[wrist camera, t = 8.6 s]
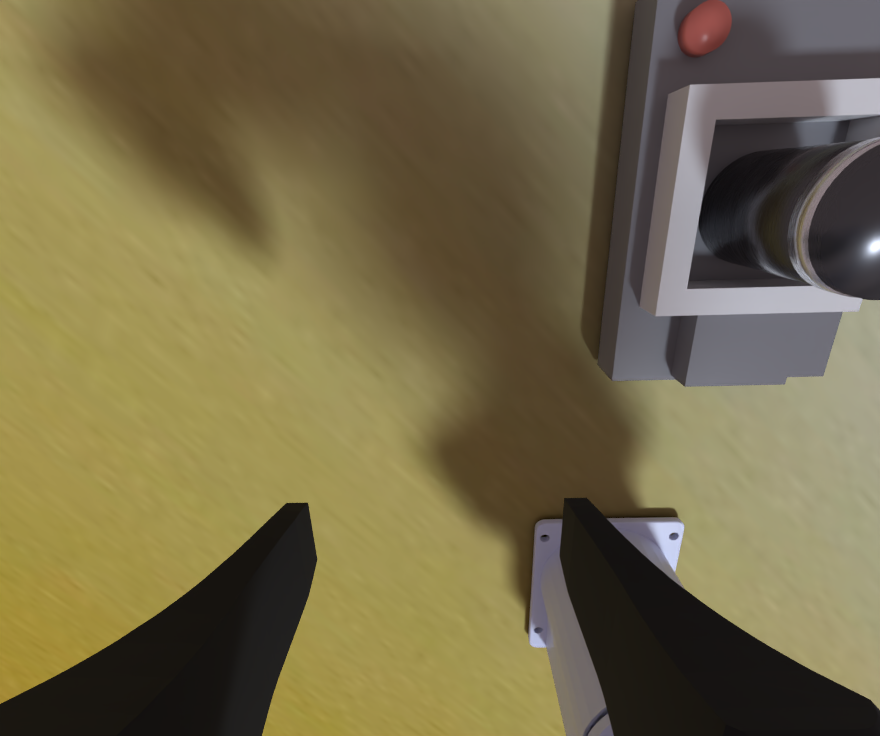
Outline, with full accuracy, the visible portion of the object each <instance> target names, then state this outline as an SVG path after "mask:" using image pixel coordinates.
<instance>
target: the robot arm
mask: <svg viewBox="0 0 880 736" xmlns="http://www.w3.org/2000/svg"><path fill="white" fill-rule="evenodd" d="M674 532H675V533H674ZM683 532H684V524H683V523H682V521H681V520H680V519H679V518H676V517H654V518H606V517H605V516H604V515H603V514H602V513H601V512H600V511H599V510H598V509H597V508H596V507H595V506H594V505H593V504H592V503H591V502H590V501H589V500H588V499H587V498H564V509H563V519H544V520H540V521H538V522H537V523H536V525H535V534H534V551H533V568H532V584H531V601H530V617H529V634H528V638H529V643H530V645H531V646H533V647H547V652H548V656H549V661H550V665H551V670H552V674H553V679H554V683H555V688H556V692H557V697H558V701H559V706H560V710H561V715H562V719H563V723H564V728H565V732H566V736H880V710H879V709H878V708H877V707H876V706H875V705H874V704H873V702H872V701H871V700H870V699H868V698H866V697H864V696H862V695H860V694H858V693H856V692H854V691H852V690H850V689H848V688H846V687H844V686H842V685H840V684H838V683H836V682H834V681H832V680H830V679H828V678H826V677H824V676H822V675H820V674H818V673H816V672H814V671H812V670H810V669H808V668H806V667H805V666H803V665H801V664H799V663H797V662H796V661H794V660H792V659H790V658H789V657H787V656H785V655H783V654H782V653H780V652H778V651H776V650H775V649H773V648H771V647H769V646H768V645H766V644H764V643H763V642H761V641H759V640H758V639H756V638H755V637H753V636H751V635H750V634H748V633H747V632H745V631H744V630H742V629H740V628H739V627H737V626H736V625H734V624H733V623H731V622H730V621H728V620H727V619H725V618H724V617H722V616H721V615H719V614H718V613H716V612H715V611H713V610H712V609H711V608H709V607H708V606H706V605H705V604H704V603H702V602H701V601H700V600H698V599H697V598H696V597H694V596H693V595H692V594H690V593H689V592H688V591H686V590H685V589H684V587H683V585H682V584H681V582H680V580H679V579H678V577H677V575H676V574H675V570H676V566H677V561H678V556H679V551H680V547H681V542H682V537H683ZM671 533H674V534H672V535H670V534H671ZM542 535H547V536H546V537H541V536H542ZM316 562H317V555H316V549H315V543H314V537H313V531H312V525H311V519H310V513H309V507H308V503H286V504H285V505H284V506H283V507H282V508H281V509H280V510H279V511H278V512H277V513H276V514H275V515H274V516H272V517H271V518H270V519H269V520H268V521H267V522H266V523H265V524H264V525H263V526H262V527H261V528H260V529H259V530H258V531H257V532H256V533H255V534H254V535H253V536H252V537H251V538H250V539H249V540H248V541H246V542H245V543H244V544H243V545H242V546H241V547H240V548H239V549H238V550H237V551H236V552H235V553H234V554H233V555H231V556H230V557H229V558H228V559H227V560H226V561H224V562H223V563H222V564H221V565H220V566H219V567H217V568H216V569H215V570H214V571H213V572H212V573H210V574H209V575H208V576H207V577H206V578H205V579H204V580H202V581H201V582H200V583H199V584H197V585H196V586H195V587H194V588H192V589H191V590H190V591H188V592H187V593H186V594H185V595H183V596H182V597H181V598H179V599H178V600H177V601H175V602H174V603H172V604H171V605H170V606H168V607H167V608H166V609H164V610H163V611H161V612H160V613H159V614H157V615H156V616H154V617H153V618H151V619H150V620H148V621H147V622H145V623H144V624H142V625H140V626H139V627H137V628H136V629H134V630H133V631H131V632H130V633H128V634H127V635H125V636H124V637H122V638H121V639H119V640H118V641H116V642H114V643H113V644H111V645H109V646H108V647H106V648H104V649H103V650H101V651H99V652H98V653H96V654H94V655H93V656H91V657H89V658H87V659H86V660H84V661H82V662H80V663H78V664H77V665H75V666H73V667H71V668H70V669H68V670H66V671H64V672H62V673H60V674H59V675H57V676H55V677H53V678H51V679H49V680H47V681H45V682H43V683H41V684H39V685H37V686H35V687H33V688H31V689H29V690H27V691H25V692H23V693H21V694H19V695H17V696H15V697H13V698H11V699H9V700H7V701H5V702H3V703H1V704H0V736H262V733H263V729H264V725H265V722H266V718H267V714H268V710H269V707H270V703H271V699H272V696H273V693H274V690H275V687H276V684H277V681H278V678H279V675H280V672H281V670H282V667H283V664H284V662H285V659H286V656H287V653H288V651H289V648H290V645H291V643H292V640H293V637H294V635H295V632H296V629H297V626H298V624H299V621H300V618H301V615H302V613H303V610H304V607H305V604H306V602H307V599H308V596H309V592H310V588H311V584H312V580H313V576H314V571H315V567H316ZM537 627H538V628H537Z"/></svg>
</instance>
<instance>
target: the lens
mask: <svg viewBox="0 0 880 736" xmlns="http://www.w3.org/2000/svg"><path fill="white" fill-rule="evenodd" d="M699 230H700V234H701V237H702V240H703V242H704V244H705V245H706V247H707V248H708V249H709V251H710V252H711V253H712V254H714V255H715V256H716V257H718V258H720V259H722V260H724V261H727V262H730V263H734V264H738V265H741V266H745V267H749V268H752V269H756V270H759V271H763V272H767V273H770V274H774V275H777V276H781V277H785V278H788V279H792V280H796V281H799V282H803V283H806V284H810V285H812V286H814V287H816V288H819V289H821V290H825V291H828V292H832V293H835V294H839V295H843V296H847V297H854V298H862V299H867V300H880V137H876V138H872V139H869V140H861V141H851V142H841V143H831V144H822V145H812V146H802V147H792V148H783V149H773V150H763V151H757V152H753V153H750V154H747V155H745V156H742V157H740V158H738V159H737V160H735V161H733V162H732V163H731V164H729V165H728V166H727V167H725V168H724V169H723V170H722V171H721V172H720V173H719V174H718V175H717V177H716V178H715V179H714V180H713V182H712V183H711V185H710V186H709V188H708V190H707V191H706V193H705V196H704V198H703V200H702V204H701V210H700V216H699Z"/></svg>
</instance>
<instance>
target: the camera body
mask: <svg viewBox="0 0 880 736" xmlns="http://www.w3.org/2000/svg"><path fill="white" fill-rule="evenodd" d="M876 137H880V0H637V1H636V4H635V13H634V23H633V32H632V42H631V51H630V61H629V70H628V79H627V89H626V98H625V108H624V117H623V127H622V136H621V146H620V155H619V165H618V174H617V183H616V193H615V202H614V212H613V221H612V231H611V240H610V250H609V259H608V269H607V278H606V288H605V297H604V306H603V316H602V325H601V335H600V344H599V354H598V363H597V364H598V366H599V367H600V368H601V369H602V370H603V371H604V372H605V374H606V375H607V376H608V377H609V378H610V379H611V380H612V381H628V380H673V379H676V380H677V381H679V382H680V383H681V384H682V385H684V386H685V387H686V386H731V385H777V384H785V382H786V378H787V377H808V376H823V375H824V372H825V368H826V365H827V362H828V359H829V355H830V352H831V349H832V345H833V342H834V339H835V335H836V332H837V329H838V326H839V322H840V319H841V316H842V312H851V311H859V309H860V305H861V302H862V298H854V297H847V296H843V295H839V294H835V293H832V292H828V291H825V290H821V289H819V288H816V287H814V286H812V285H810V284H806V283H803V282H799V281H796V280H792V279H788V278H785V277H781V276H777V275H774V274H770V273H767V272H763V271H759V270H756V269H752V268H749V267H745V266H741V265H738V264H734V263H730V262H727V261H724V260H722V259H720V258H718V257H716V256H715V255H714V254H712V253H711V252H710V251H709V249H708V248H707V247H706V245H705V244H704V242H703V240H702V237H701V234H700V230H699V216H700V210H701V204H702V200H703V198H704V196H705V193H706V191H707V190H708V188H709V186H710V185H711V183H712V182H713V180H714V179H715V178H716V177H717V175H718V174H719V173H720V172H721V171H722V170H723V169H724V168H725V167H727V166H728V165H729V164H731V163H732V162H733V161H735V160H737V159H738V158H740V157H742V156H745V155H747V154H750V153H753V152H757V151H763V150H773V149H783V148H792V147H802V146H812V145H822V144H831V143H841V142H851V141H861V140H869V139H872V138H876Z"/></svg>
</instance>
